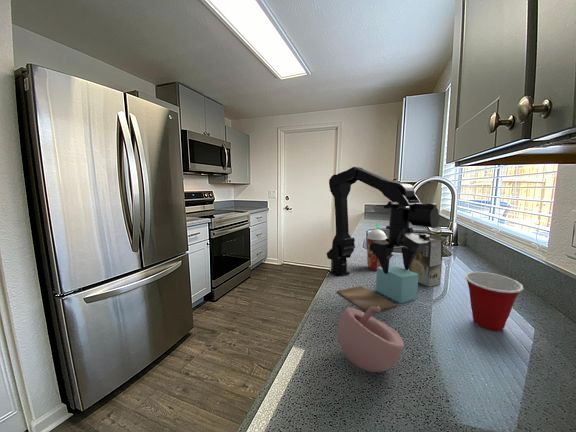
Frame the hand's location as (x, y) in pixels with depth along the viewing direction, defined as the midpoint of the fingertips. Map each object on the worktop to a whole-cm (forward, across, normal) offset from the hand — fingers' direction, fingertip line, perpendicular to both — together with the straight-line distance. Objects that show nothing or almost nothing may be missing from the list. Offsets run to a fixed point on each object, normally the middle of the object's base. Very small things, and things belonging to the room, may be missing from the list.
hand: (396, 271), depth 75 cm
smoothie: (+8, +13, +22) cm, 27 cm away
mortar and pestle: (+8, -30, -20) cm, 37 cm away
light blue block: (+8, 0, 0) cm, 8 cm away
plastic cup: (+8, +7, -22) cm, 25 cm away
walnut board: (+8, -12, +1) cm, 14 cm away
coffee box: (+8, +19, +4) cm, 21 cm away
